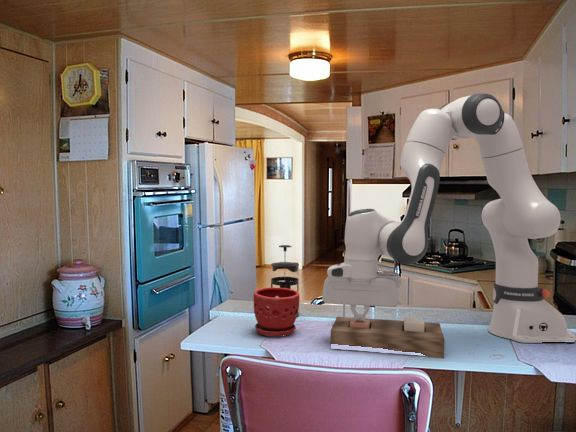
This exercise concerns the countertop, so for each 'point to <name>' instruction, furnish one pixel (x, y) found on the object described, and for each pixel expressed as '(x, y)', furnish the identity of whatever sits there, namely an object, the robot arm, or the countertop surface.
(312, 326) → the countertop surface
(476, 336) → the countertop surface
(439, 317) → the countertop surface
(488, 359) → the countertop surface
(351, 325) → the terracotta key
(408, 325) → the cream key
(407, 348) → the brown flat block
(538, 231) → the robot arm
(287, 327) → the plant pot
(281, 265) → the french press
